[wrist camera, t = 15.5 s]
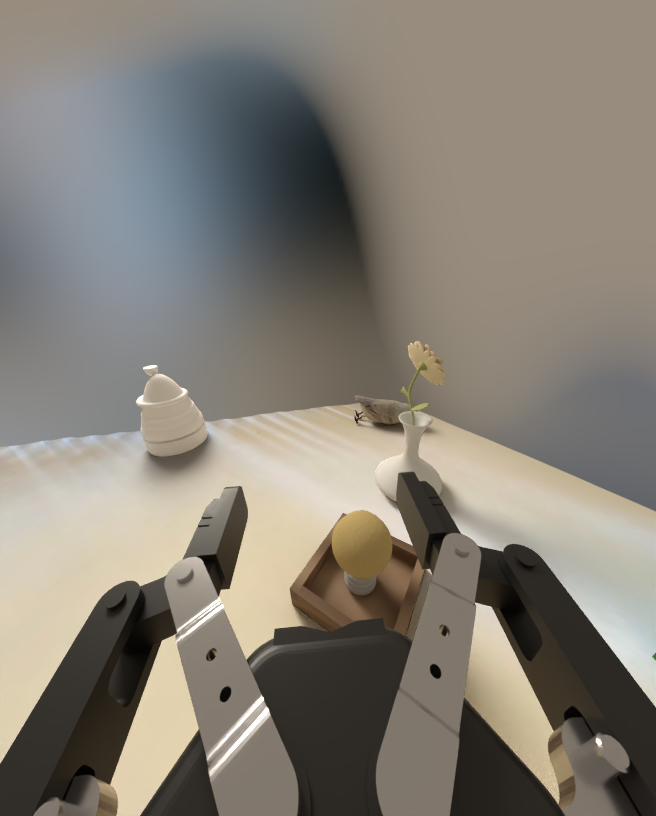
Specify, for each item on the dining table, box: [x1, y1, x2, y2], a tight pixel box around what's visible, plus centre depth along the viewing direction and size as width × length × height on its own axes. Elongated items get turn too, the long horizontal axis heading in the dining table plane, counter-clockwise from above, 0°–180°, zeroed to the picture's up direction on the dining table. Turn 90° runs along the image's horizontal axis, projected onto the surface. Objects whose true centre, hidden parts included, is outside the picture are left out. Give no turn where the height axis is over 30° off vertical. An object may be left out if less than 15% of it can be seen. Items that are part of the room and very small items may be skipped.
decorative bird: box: [355, 395, 418, 425], centre depth 65 cm, size 5×16×8 cm, turn 77°
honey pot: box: [136, 365, 208, 457], centre depth 58 cm, size 13×13×18 cm
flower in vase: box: [374, 341, 447, 501], centre depth 41 cm, size 13×11×25 cm
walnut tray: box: [290, 513, 425, 636], centre depth 31 cm, size 12×12×3 cm
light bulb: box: [332, 510, 392, 596], centre depth 29 cm, size 6×6×10 cm
